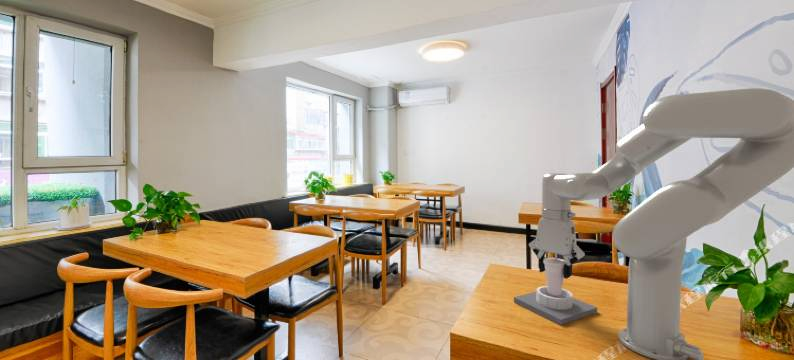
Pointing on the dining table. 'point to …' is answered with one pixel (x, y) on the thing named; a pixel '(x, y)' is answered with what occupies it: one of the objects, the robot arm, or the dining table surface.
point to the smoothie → (554, 274)
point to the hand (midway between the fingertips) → (554, 273)
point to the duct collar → (555, 305)
